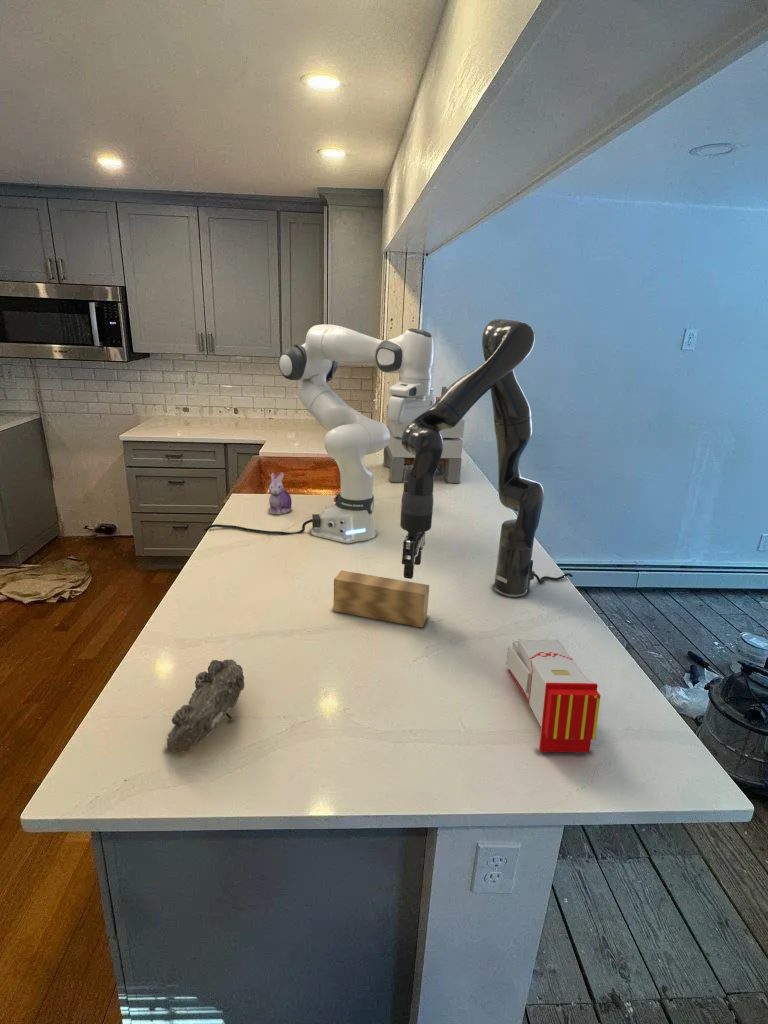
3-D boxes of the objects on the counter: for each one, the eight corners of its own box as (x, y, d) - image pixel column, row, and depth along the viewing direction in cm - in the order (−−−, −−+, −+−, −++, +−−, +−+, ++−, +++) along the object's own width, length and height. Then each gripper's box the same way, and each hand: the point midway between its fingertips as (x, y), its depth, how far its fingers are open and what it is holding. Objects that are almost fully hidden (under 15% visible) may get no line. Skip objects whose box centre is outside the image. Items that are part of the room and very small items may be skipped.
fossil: (192, 660, 117) (244, 628, 112) (224, 691, 120) (276, 661, 115) (142, 746, 98) (202, 712, 93) (182, 779, 101) (242, 748, 96)
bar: (333, 611, 147) (333, 578, 144) (340, 601, 152) (341, 570, 149) (422, 627, 142) (424, 594, 138) (426, 617, 147) (429, 584, 143)
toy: (554, 622, 128) (610, 691, 98) (548, 677, 130) (601, 759, 101) (501, 621, 127) (541, 690, 98) (496, 676, 130) (534, 758, 101)
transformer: (382, 463, 289) (386, 382, 275) (445, 464, 293) (451, 384, 279) (390, 482, 257) (394, 392, 243) (460, 483, 261) (468, 394, 247)
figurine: (272, 516, 210) (271, 477, 205) (264, 508, 219) (263, 470, 213) (296, 513, 214) (296, 475, 209) (287, 505, 223) (287, 468, 218)
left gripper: (425, 385, 174) (421, 430, 178) (385, 388, 158) (382, 437, 162) (442, 388, 170) (438, 433, 174) (404, 391, 154) (400, 441, 158)
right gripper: (426, 520, 128) (420, 585, 133) (437, 502, 141) (432, 562, 146) (394, 516, 129) (390, 580, 135) (408, 498, 142) (404, 557, 148)
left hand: (410, 435), depth 168 cm, fingers open, 8 cm apart
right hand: (412, 570), depth 140 cm, fingers open, 8 cm apart
